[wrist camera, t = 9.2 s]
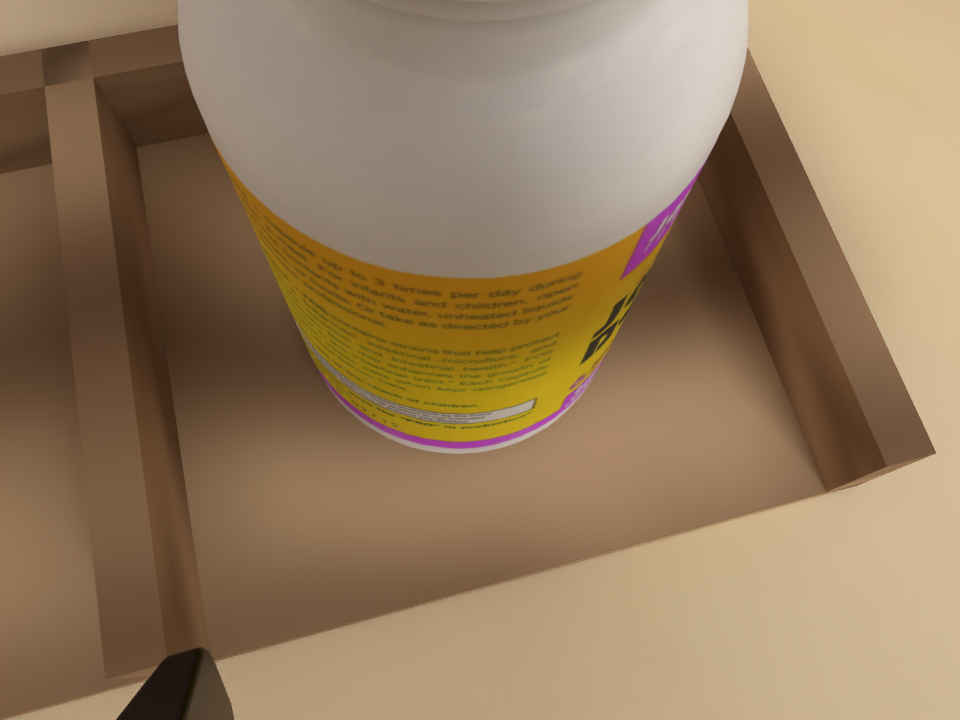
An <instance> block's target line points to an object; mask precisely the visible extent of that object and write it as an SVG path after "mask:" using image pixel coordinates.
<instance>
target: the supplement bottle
mask: <svg viewBox="0 0 960 720" xmlns="http://www.w3.org/2000/svg"><path fill="white" fill-rule="evenodd" d="M177 8H178V33H179V43H180V48H181V53H182V58H183V63H184V68H185V72H186V75H187V78H188V81H189V84H190V88H191V91H192V94H193V96H194V99H195V101H196V103H197V106H198V108H199V110H200V113H201V115H202V117H203V119H204V122H205V124H206V127H207V129H208V131H209V134H210V136H211V139H212V141H213V143H214V145H215V147H216V149H217V151H218V153H219V155H220V157H221V159H222V162H223V164H224V166H225V168H226V170H227V172H228V174H229V176H230V178H231V181H232V183H233V185H234V187H235V189H236V192H237V194H238V196H239V198H240V200H241V202H242V205H243V207H244V209H245V211H246V213H247V215H248V218H249V220H250V222H251V224H252V226H253V229H254V231H255V233H256V236H257V238H258V240H259V242H260V244H261V246H262V249H263V251H264V254H265V256H266V258H267V260H268V262H269V264H270V266H271V269H272V271H273V273H274V276H275V278H276V280H277V282H278V285H279V287H280V289H281V291H282V293H283V295H284V298H285V300H286V302H287V304H288V307H289V309H290V311H291V313H292V315H293V317H294V320H295V322H296V325H297V327H298V329H299V331H300V333H301V336H302V338H303V340H304V342H305V345H306V347H307V349H308V351H309V353H310V355H311V358H312V360H313V361H314V363H315V365H316V367H317V369H318V371H319V372H320V374H321V376H322V378H323V379H324V381H325V383H326V384H327V386H328V387H329V389H330V390H331V391H332V393H333V394H334V396H335V397H336V398H337V399H338V400H339V402H340V403H341V404H342V405H343V406H344V407H345V408H346V409H347V410H348V411H349V412H350V413H352V414H353V415H354V416H355V417H356V418H358V419H359V420H360V421H361V422H362V423H363V424H365V425H367V426H368V427H370V428H371V429H373V430H375V431H376V432H378V433H380V434H381V435H383V436H385V437H387V438H389V439H391V440H394V441H396V442H398V443H401V444H403V445H406V446H409V447H412V448H417V449H421V450H425V451H431V452H438V453H450V454H465V453H477V452H485V451H490V450H495V449H498V448H502V447H506V446H509V445H512V444H515V443H517V442H520V441H522V440H525V439H527V438H529V437H531V436H532V435H534V434H536V433H538V432H540V431H541V430H543V429H545V428H546V427H548V426H549V425H551V424H552V423H553V422H555V421H556V420H557V419H558V418H559V417H561V416H562V415H563V414H564V413H565V412H566V411H567V410H568V409H569V408H570V407H571V406H572V405H573V404H574V403H575V402H576V401H577V400H578V399H579V397H580V396H581V395H582V394H583V392H584V391H585V389H586V388H587V386H588V385H589V383H590V382H591V380H592V378H593V377H594V375H595V374H596V372H597V370H598V368H599V366H600V365H601V363H602V361H603V359H604V357H605V356H606V354H607V352H608V350H609V348H610V346H611V344H612V342H613V340H614V338H615V336H616V334H617V332H618V330H619V328H620V326H621V324H622V322H623V320H624V318H625V316H626V314H627V313H628V311H629V309H630V307H631V305H632V303H633V300H634V298H635V296H636V295H637V293H638V291H639V289H640V287H641V286H642V284H643V282H644V280H645V278H646V276H647V274H648V272H649V270H650V268H651V266H652V264H653V262H654V260H655V258H656V256H657V254H658V252H659V250H660V248H661V246H662V244H663V242H664V240H665V238H666V236H667V234H668V233H669V231H670V229H671V227H672V225H673V223H674V221H675V219H676V217H677V215H678V213H679V211H680V209H681V207H682V205H683V203H684V201H685V199H686V197H687V196H688V194H689V192H690V190H691V188H692V186H693V184H694V182H695V180H696V178H697V177H698V175H699V173H700V171H701V169H702V167H703V165H704V164H705V162H706V160H707V158H708V156H709V154H710V152H711V151H712V149H713V147H714V145H715V143H716V141H717V138H718V136H719V134H720V132H721V130H722V128H723V126H724V124H725V122H726V120H727V118H728V116H729V114H730V111H731V108H732V106H733V103H734V100H735V97H736V94H737V92H738V88H739V85H740V81H741V77H742V73H743V69H744V64H745V60H746V52H747V42H748V31H749V28H748V0H178V4H177Z"/></svg>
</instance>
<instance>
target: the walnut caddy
mask: <svg viewBox="0 0 960 720" xmlns="http://www.w3.org/2000/svg"><path fill="white" fill-rule="evenodd" d="M935 453H936V451H935V449H934V447H933V445H932V443H931V441H930V439H929V436H928V434H927V432H926V430H925V428H924V426H923V423H922V421H921V419H920V417H919V415H918V413H917V411H916V408H915V406H914V404H913V402H912V400H911V398H910V396H909V393H908V391H907V389H906V387H905V385H904V383H903V381H902V378H901V376H900V374H899V372H898V370H897V368H896V365H895V363H894V361H893V359H892V357H891V355H890V353H889V350H888V348H887V346H886V344H885V342H884V340H883V338H882V335H881V333H880V331H879V329H878V327H877V325H876V323H875V320H874V318H873V316H872V314H871V312H870V310H869V307H868V305H867V303H866V301H865V299H864V297H863V295H862V292H861V290H860V288H859V286H858V284H857V282H856V280H855V277H854V275H853V273H852V271H851V269H850V267H849V265H848V262H847V260H846V258H845V256H844V254H843V252H842V249H841V247H840V245H839V243H838V241H837V239H836V237H835V234H834V232H833V230H832V228H831V226H830V224H829V222H828V219H827V217H826V215H825V213H824V211H823V209H822V207H821V204H820V202H819V200H818V198H817V196H816V194H815V191H814V189H813V187H812V185H811V183H810V181H809V179H808V176H807V174H806V172H805V170H804V168H803V166H802V164H801V161H800V159H799V157H798V155H797V153H796V151H795V149H794V146H793V144H792V142H791V140H790V138H789V136H788V133H787V131H786V129H785V127H784V125H783V123H782V121H781V118H780V116H779V114H778V112H777V110H776V108H775V106H774V103H773V101H772V99H771V97H770V95H769V93H768V91H767V88H766V86H765V84H764V82H763V80H762V78H761V75H760V73H759V71H758V69H757V67H756V65H755V63H754V60H753V58H752V56H751V54H750V52H749V50H748V48H747V52H746V60H745V64H744V69H743V73H742V77H741V81H740V85H739V88H738V92H737V94H736V97H735V100H734V103H733V106H732V108H731V111H730V114H729V116H728V118H727V120H726V122H725V124H724V126H723V128H722V130H721V132H720V134H719V136H718V138H717V141H716V143H715V145H714V147H713V149H712V151H711V152H710V154H709V156H708V158H707V160H706V162H705V164H704V165H703V167H702V169H701V171H700V173H699V175H698V177H697V178H696V180H695V182H694V184H693V186H692V188H691V190H690V192H689V194H688V196H687V197H686V199H685V201H684V203H683V205H682V207H681V209H680V211H679V213H678V215H677V217H676V219H675V221H674V223H673V225H672V227H671V229H670V231H669V233H668V234H667V236H666V238H665V240H664V242H663V244H662V246H661V248H660V250H659V252H658V254H657V256H656V258H655V260H654V262H653V264H652V266H651V268H650V270H649V272H648V274H647V276H646V278H645V280H644V282H643V284H642V286H641V287H640V289H639V291H638V293H637V295H636V296H635V298H634V300H633V303H632V305H631V307H630V309H629V311H628V313H627V314H626V316H625V318H624V320H623V322H622V324H621V326H620V328H619V330H618V332H617V334H616V336H615V338H614V340H613V342H612V344H611V346H610V348H609V350H608V352H607V354H606V356H605V357H604V359H603V361H602V363H601V365H600V366H599V368H598V370H597V372H596V374H595V375H594V377H593V378H592V380H591V382H590V383H589V385H588V386H587V388H586V389H585V391H584V392H583V394H582V395H581V396H580V397H579V399H578V400H577V401H576V402H575V403H574V404H573V405H572V406H571V407H570V408H569V409H568V410H567V411H566V412H565V413H564V414H563V415H562V416H561V417H559V418H558V419H557V420H556V421H555V422H553V423H552V424H551V425H549V426H548V427H546V428H545V429H543V430H541V431H540V432H538V433H536V434H534V435H532V436H531V437H529V438H527V439H525V440H522V441H520V442H517V443H515V444H512V445H509V446H506V447H502V448H498V449H495V450H490V451H485V452H477V453H465V454H450V453H438V452H431V451H425V450H421V449H417V448H412V447H409V446H406V445H403V444H401V443H398V442H396V441H394V440H391V439H389V438H387V437H385V436H383V435H381V434H380V433H378V432H376V431H375V430H373V429H371V428H370V427H368V426H367V425H365V424H363V423H362V422H361V421H360V420H359V419H358V418H356V417H355V416H354V415H353V414H352V413H350V412H349V411H348V410H347V409H346V408H345V407H344V406H343V405H342V404H341V403H340V402H339V400H338V399H337V398H336V397H335V396H334V394H333V393H332V391H331V390H330V389H329V387H328V386H327V384H326V383H325V381H324V379H323V378H322V376H321V374H320V372H319V371H318V369H317V367H316V365H315V363H314V361H313V360H312V358H311V355H310V353H309V351H308V349H307V347H306V345H305V342H304V340H303V338H302V336H301V333H300V331H299V329H298V327H297V325H296V322H295V320H294V317H293V315H292V313H291V311H290V309H289V307H288V304H287V302H286V300H285V298H284V295H283V293H282V291H281V289H280V287H279V285H278V282H277V280H276V278H275V276H274V273H273V271H272V269H271V266H270V264H269V262H268V260H267V258H266V256H265V254H264V251H263V249H262V246H261V244H260V242H259V240H258V238H257V236H256V233H255V231H254V229H253V226H252V224H251V222H250V220H249V218H248V215H247V213H246V211H245V209H244V207H243V205H242V202H241V200H240V198H239V196H238V194H237V192H236V189H235V187H234V185H233V183H232V181H231V178H230V176H229V174H228V172H227V170H226V168H225V166H224V164H223V162H222V159H221V157H220V155H219V153H218V151H217V149H216V147H215V145H214V143H213V141H212V139H211V136H210V134H209V131H208V129H207V127H206V124H205V122H204V119H203V117H202V115H201V113H200V110H199V108H198V106H197V103H196V101H195V99H194V96H193V94H192V91H191V88H190V84H189V81H188V78H187V75H186V72H185V68H184V63H183V58H182V53H181V48H180V43H179V33H178V25H174V26H168V27H163V28H157V29H152V30H146V31H140V32H135V33H129V34H124V35H118V36H113V37H107V38H101V39H96V40H90V41H85V42H79V43H73V44H68V45H62V46H57V47H51V48H46V49H40V50H34V51H29V52H23V53H18V54H12V55H6V56H1V57H0V720H4V719H7V718H11V717H14V716H18V715H22V714H25V713H29V712H33V711H36V710H40V709H44V708H47V707H51V706H55V705H58V704H62V703H66V702H69V701H73V700H76V699H80V698H84V697H87V696H91V695H95V694H98V693H102V692H106V691H109V690H113V689H117V688H120V687H124V686H127V685H131V684H135V683H138V682H142V681H146V680H147V679H148V678H149V677H150V676H151V674H152V673H153V672H154V671H155V669H156V668H157V667H158V665H159V664H160V663H161V662H162V661H163V660H164V659H165V658H166V657H167V656H169V655H172V654H175V653H179V652H183V651H186V650H190V649H194V648H197V647H203V648H206V649H207V650H208V651H209V652H210V654H211V655H212V657H213V660H214V662H215V661H219V660H222V659H226V658H230V657H233V656H237V655H240V654H244V653H248V652H251V651H255V650H259V649H262V648H266V647H270V646H273V645H277V644H281V643H284V642H288V641H292V640H295V639H299V638H302V637H306V636H310V635H313V634H317V633H321V632H324V631H328V630H332V629H335V628H339V627H343V626H346V625H350V624H353V623H357V622H361V621H364V620H368V619H372V618H375V617H379V616H383V615H386V614H390V613H394V612H397V611H401V610H405V609H408V608H412V607H415V606H419V605H423V604H426V603H430V602H434V601H437V600H441V599H445V598H448V597H452V596H456V595H459V594H463V593H466V592H470V591H474V590H477V589H481V588H485V587H488V586H492V585H496V584H499V583H503V582H507V581H510V580H514V579H518V578H521V577H525V576H528V575H532V574H536V573H539V572H543V571H547V570H550V569H554V568H558V567H561V566H565V565H569V564H572V563H576V562H579V561H583V560H587V559H590V558H594V557H598V556H601V555H605V554H609V553H612V552H616V551H620V550H623V549H627V548H631V547H634V546H638V545H641V544H645V543H649V542H652V541H656V540H660V539H663V538H667V537H671V536H674V535H678V534H682V533H685V532H689V531H692V530H696V529H700V528H703V527H707V526H711V525H714V524H718V523H722V522H725V521H729V520H733V519H736V518H740V517H744V516H747V515H751V514H754V513H758V512H762V511H765V510H769V509H773V508H776V507H780V506H784V505H787V504H791V503H795V502H798V501H802V500H805V499H809V498H813V497H816V496H820V495H824V494H827V493H831V492H835V491H838V490H842V489H846V488H849V487H853V486H857V485H860V484H862V483H865V482H867V481H869V480H872V479H874V478H877V477H879V476H882V475H884V474H886V473H889V472H891V471H894V470H896V469H899V468H901V467H904V466H906V465H908V464H911V463H913V462H916V461H918V460H921V459H923V458H926V457H928V456H930V455H933V454H935Z"/></svg>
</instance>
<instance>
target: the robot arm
mask: <svg viewBox="0 0 960 720" xmlns="http://www.w3.org/2000/svg"><path fill="white" fill-rule="evenodd" d="M116 720H234V716H233V710H232V706H231V702H230V699H229V697H228V694H227V692H226V689H225V687H224V684H223V682H222V680H221V677H220V675H219V672H218V670H217V667H216V665H215V662H214V660H213V657H212V655H211V654H210V652H209V651H208V650H207V649H206V648H203V647H197V648H194V649H190V650H186V651H183V652H179V653H175V654H172V655H169V656H167V657H166V658H165V659H164V660H163V661H162V662H161V663H160V664H159V665H158V667H157V668H156V669H155V671H154V672H153V673H152V674H151V676H150V677H149V678H148V679H147V681H146V682H145V683H144V685H143V686H142V687H141V688H140V690H139V691H138V692H137V694H136V695H135V696H134V697H133V699H132V700H131V701H130V703H129V704H128V705H127V706H126V708H125V709H124V710H123V712H122V713H121V714H120V715H119V717H118V718H117V719H116Z"/></svg>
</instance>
